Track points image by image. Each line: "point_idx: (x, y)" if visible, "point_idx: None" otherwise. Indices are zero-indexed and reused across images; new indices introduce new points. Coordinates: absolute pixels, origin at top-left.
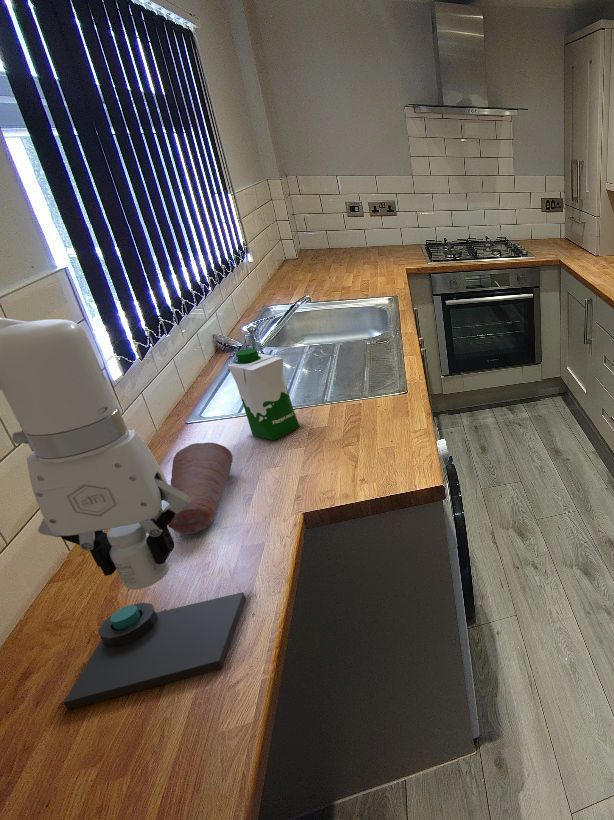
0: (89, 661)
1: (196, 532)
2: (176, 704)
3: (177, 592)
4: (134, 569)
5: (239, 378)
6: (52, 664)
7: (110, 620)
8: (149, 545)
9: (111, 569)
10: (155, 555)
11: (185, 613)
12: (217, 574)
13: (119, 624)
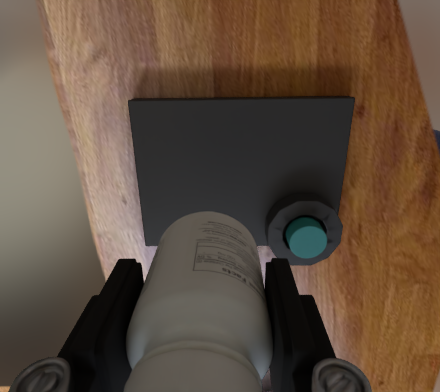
0: (341, 175)
1: (270, 390)
2: (181, 44)
3: None
4: (191, 250)
5: None
6: (398, 199)
7: (324, 232)
8: (100, 321)
9: (268, 273)
10: (116, 282)
11: None
12: None
13: (309, 222)
